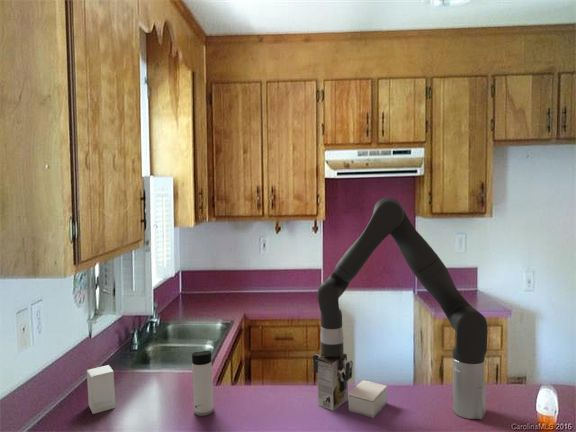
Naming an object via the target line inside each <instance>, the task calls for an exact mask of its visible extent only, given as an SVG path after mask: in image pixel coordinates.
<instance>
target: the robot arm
mask: <svg viewBox="0 0 576 432" xmlns="http://www.w3.org/2000/svg"><path fill="white" fill-rule="evenodd" d="M372 211H373V212H372V215H371V218H370V220H369V221H368V223H367V225H366V227H365V228H364V230H363V232H362V233H361V234H360V236H358V238H357V239H356V240H355V241H354V242H353V244H351V245H350V246H349V247H348V249H347V250H346V251H345V253H344V254H343V255H342V256H341V258H340V259H339V261H338V262H337V263H336V265H335V267H334V269H333V271H332V272H331V274H330V275H329V276H328V278H327V279H326V280H325V281H324V282H322V283H321V284H320V285H319V286H318V290H317V302H318V307H319V310H320V333H319V335H320V353H319V352H317V353H315V354H314V355H312V360H313V361H312V362H313V372H314V373H315V374H318V370H317V358H319V357H320V356H322V355H324V356H326V357H333V358H336V359H339V367H341V365H343V364H344V365H345V368H346V371H345V370H344V368H343V369H342V370H341V371H339V370H338V374H339V378H340V380H341V381H340V392H343V391H344V390H345V389H346V381H349V380H351V379H352V377H353V361H352V360H349V361H348V360H347V361H346V360H344V357H343V353H344V352H345V351H344V329H343V313H342V310H341V309H340V306H339V305H340V304H339V302H340V301H339V298H340V297H342V295H344V292H345V291H346V290H347V289H348V287H349V285H350V283H351V282H352V281H353V279H354V278H355V277H356V276H357V275H358V273H359V272H360V271H361V269H362V268H363V267H364V265H365V264H366V262H367V261H369V258H370V257H371V255H372V254H373V253H374V252H375V250H377V249H376V248H378V246H379V245H380V244H381V243H382V242H383V241H384V240H385V239H386V238H387V237H388V236H389V235H390V236H391V238H393V240H394V242H395V243H396V245H397V246H398V249H399V251H400V252H401V255H402V257H403V258H404V260H405V262H406V264H407V266H408V267H409V269H410V270H411V272H412V273H413V274H414V276H415V277H416V279H417V280H418V282H420V284H421V285H422V286H423V287H424V289H425V290H426V291H427V292H428V294H430V295H431V297H433V299H435V301H436V302H437V303H438V305H439V306H440V308H441V309H442V311H443V313H444V314H445V316H446V318H447V320H448V321H449V324H450V326H451V327H452V328H453V329H454V330H455V333H456V335H455V339H456V340H455V346H454V347H453V348H452V411H453V413H454V414H456V415H457V416H459V417H461V418H464V419H470V420H480V421H481V420H483V419H484V417H485V416H486V415H485V414H486V412H487V382H486V381H485V356H486V354H487V350H488V327H489V326H488V321H487V319H486V317H485V316H484V314H482V313H481V312H480V311H478V310H477V309H475V307H473V305H471V304H470V303H469V301H467V300H466V299H465V297H463V295H462V294H461V292H459V290H458V288H457V287H456V285H455V283H454V281H453V279H452V276H451V274H450V272H449V270H448V269H447V267H446V264H444V262H443V260H442V259H441V258H440V257H439V256H438V254H437V253H436V252H435V250H434V249H433V248H432V246H431V245H430V244H429V243H428V242H427V241H426V239H424V237H423V236H422V235H421V234H420V233H419V231H417V229H416V228H415V227H414V225H413V223H412V222H411V220H410V219H409V217H408V215H407V213H406V211H405V210H404V207H403V206H402V204H401V203H400V202H399V201H398V200H397V199H395V198H392V197H383V198H380V199H379V200H377V202H376V203H375V205H374V207H373V210H372ZM344 354H345V353H344Z"/></svg>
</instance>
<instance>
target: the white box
mask: <svg viewBox="0 0 576 432" xmlns="http://www.w3.org/2000/svg"><path fill="white" fill-rule="evenodd" d="M387 404H388V389H387V388H386V389H385V390H384V391H383V392H382V393H381V394H380V395H379V396H378V397H377V398H376V399H375V400H374V401H369V400H366V399H362V398H358V397H355V396H351V395H348V411H349V412H350V413H351V412H352V413H355V414H359V415H361V416H365V417H368V418H371V419H374V418H375V417H376V416H377V415H378V414H379V413H380V411H382V410H383V409H384V407H386V406H387Z"/></svg>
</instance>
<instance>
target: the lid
mask: <svg viewBox="0 0 576 432" xmlns="http://www.w3.org/2000/svg"><path fill="white" fill-rule="evenodd" d="M387 388H388V386H387V385H385V384H382V383H377V382H373V381H368V380H364V379H363V380H361V381H360V382H359V383H358V384H357V385H356V386H354V387H353V388H352V389H351V390H350V391H348V396H349V395H351V396H355V397H358V398H362V399H366V400H369V401H374V400H375V399H376V398H377V397H378V396H379V395H380V394H381V393H382V392H383V391H384V390H385V389H387Z"/></svg>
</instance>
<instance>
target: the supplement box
mask: <svg viewBox="0 0 576 432" xmlns="http://www.w3.org/2000/svg"><path fill="white" fill-rule="evenodd" d="M114 372H115V371H114V369H112V367H111V366H110V364H107V365H103V366H98V367H94V368H90V369H86V379H87V380H86V382H87V397H88V399H87V400H88V407H89V409H90V411H91V413H92V415H94V414H99V413H102V412H105V411H108V410H112V409H115V408H116V394H115V389H116V388H115V373H114Z"/></svg>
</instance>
